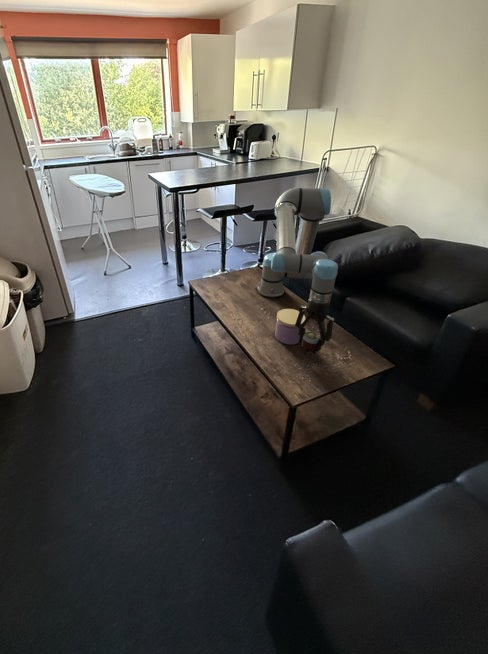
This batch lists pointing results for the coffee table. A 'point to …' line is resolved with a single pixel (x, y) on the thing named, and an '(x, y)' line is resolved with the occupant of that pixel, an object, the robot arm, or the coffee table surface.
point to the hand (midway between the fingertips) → (309, 346)
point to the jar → (287, 326)
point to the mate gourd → (310, 342)
